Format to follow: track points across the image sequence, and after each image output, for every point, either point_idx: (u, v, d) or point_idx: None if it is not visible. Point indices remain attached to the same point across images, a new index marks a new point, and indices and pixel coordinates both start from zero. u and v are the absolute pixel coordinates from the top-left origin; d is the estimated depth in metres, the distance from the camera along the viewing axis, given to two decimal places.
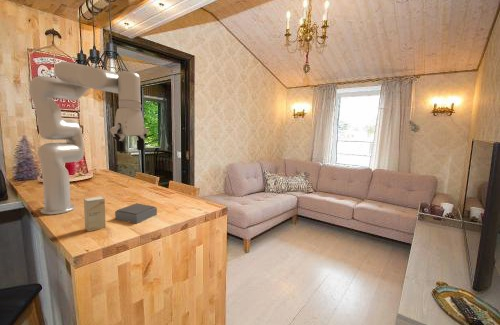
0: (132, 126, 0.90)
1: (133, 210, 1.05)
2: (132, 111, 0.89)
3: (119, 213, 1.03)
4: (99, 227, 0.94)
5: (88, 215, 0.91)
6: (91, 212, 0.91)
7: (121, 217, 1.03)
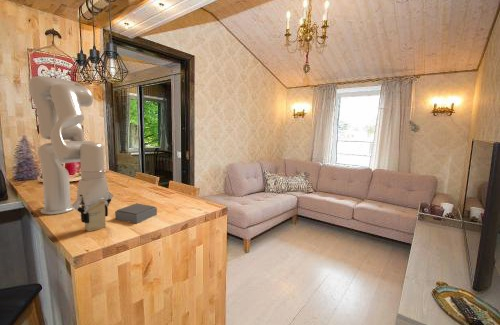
0: (94, 196, 0.91)
1: (133, 210, 1.05)
2: (94, 181, 0.90)
3: (119, 213, 1.03)
4: (99, 227, 0.94)
5: None
6: (91, 212, 0.91)
7: (121, 217, 1.03)
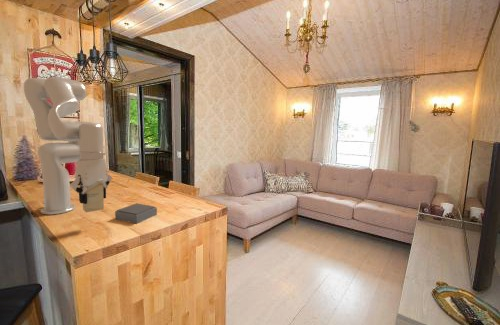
0: (93, 176, 0.90)
1: (133, 210, 1.05)
2: (93, 162, 0.89)
3: (119, 213, 1.03)
4: (97, 209, 0.93)
5: None
6: (89, 193, 0.90)
7: (121, 217, 1.03)
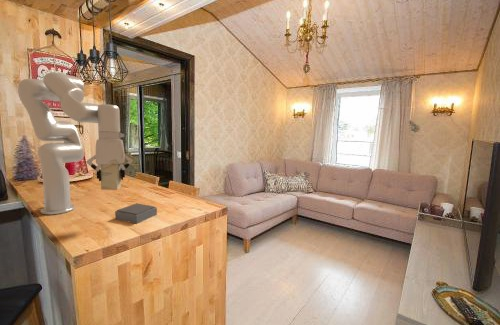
0: (105, 156, 0.93)
1: (133, 210, 1.05)
2: (105, 141, 0.92)
3: (119, 213, 1.03)
4: (111, 188, 0.96)
5: (101, 174, 0.95)
6: (104, 171, 0.95)
7: (121, 217, 1.03)
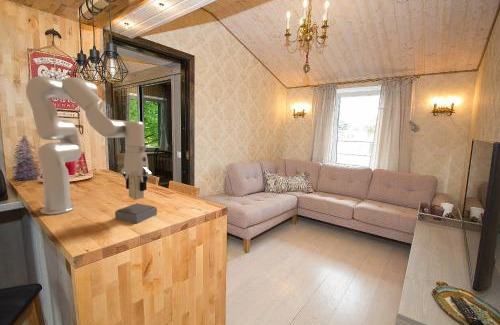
0: (128, 167, 1.03)
1: (133, 210, 1.05)
2: (128, 154, 1.02)
3: (119, 213, 1.03)
4: (132, 197, 1.05)
5: None
6: (129, 181, 1.05)
7: (121, 217, 1.03)
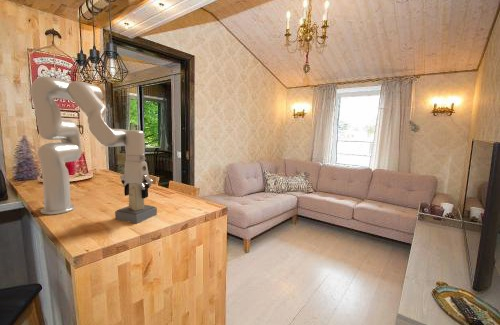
0: (128, 176, 1.04)
1: (133, 210, 1.05)
2: (128, 163, 1.03)
3: (119, 213, 1.03)
4: (132, 208, 1.05)
5: (129, 194, 1.07)
6: (130, 192, 1.06)
7: (121, 217, 1.03)
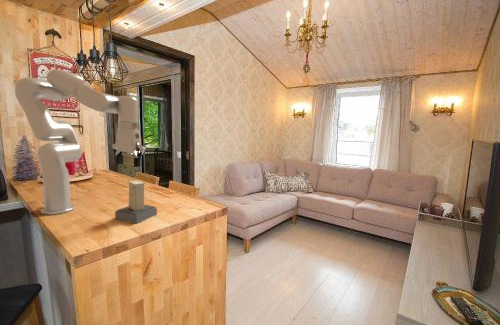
0: (121, 143, 1.01)
1: (133, 210, 1.05)
2: (121, 130, 1.00)
3: (119, 213, 1.03)
4: (132, 208, 1.05)
5: (129, 194, 1.07)
6: (130, 192, 1.06)
7: (121, 217, 1.03)
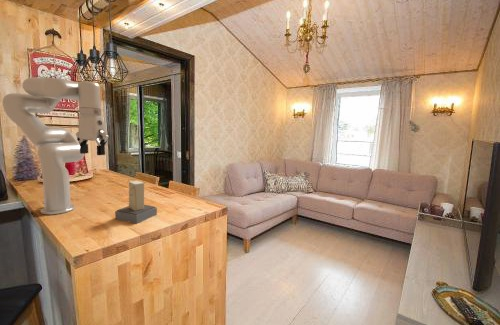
0: (83, 131, 0.97)
1: (133, 210, 1.05)
2: (82, 117, 0.96)
3: (119, 213, 1.03)
4: (132, 208, 1.05)
5: (129, 194, 1.07)
6: (130, 192, 1.06)
7: (121, 217, 1.03)
